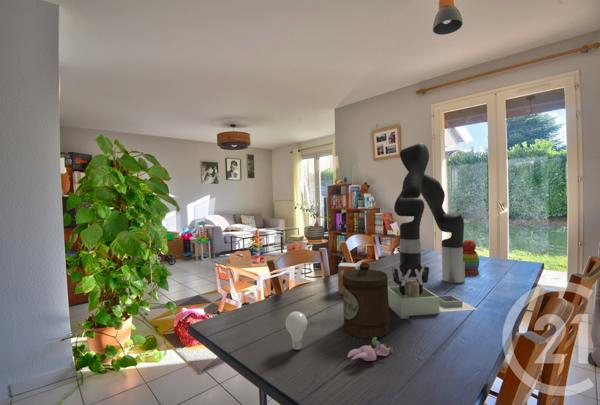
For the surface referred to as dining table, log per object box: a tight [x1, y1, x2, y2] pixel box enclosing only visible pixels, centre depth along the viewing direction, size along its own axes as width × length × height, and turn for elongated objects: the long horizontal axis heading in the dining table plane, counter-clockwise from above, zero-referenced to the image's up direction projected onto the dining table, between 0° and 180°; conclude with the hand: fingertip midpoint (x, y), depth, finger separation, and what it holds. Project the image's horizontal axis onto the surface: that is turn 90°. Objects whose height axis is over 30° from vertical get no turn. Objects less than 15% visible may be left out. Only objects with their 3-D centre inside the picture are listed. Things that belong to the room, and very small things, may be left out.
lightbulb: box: [285, 311, 308, 351], centre depth 86 cm, size 6×6×11 cm
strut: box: [404, 279, 419, 298], centre depth 112 cm, size 4×4×10 cm
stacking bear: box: [462, 239, 480, 276], centre depth 159 cm, size 11×10×18 cm
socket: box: [437, 294, 478, 313], centre depth 114 cm, size 14×14×3 cm
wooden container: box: [342, 261, 390, 339], centre depth 98 cm, size 15×15×22 cm
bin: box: [388, 285, 440, 320], centre depth 112 cm, size 14×14×7 cm
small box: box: [337, 262, 358, 295], centre depth 133 cm, size 8×6×13 cm
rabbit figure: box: [347, 337, 394, 362], centre depth 80 cm, size 6×6×15 cm
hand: (411, 294), depth 112 cm, fingers open, 6 cm apart
